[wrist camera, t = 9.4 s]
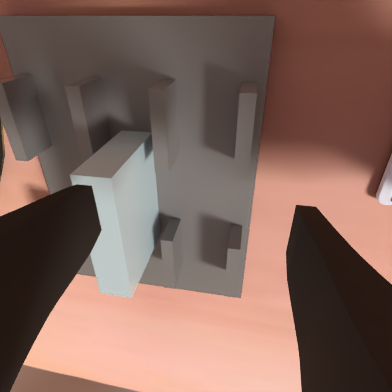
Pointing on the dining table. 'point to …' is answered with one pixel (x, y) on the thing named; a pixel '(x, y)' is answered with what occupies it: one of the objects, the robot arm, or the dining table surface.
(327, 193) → the dining table surface
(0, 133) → the decorative plate
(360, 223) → the dining table surface
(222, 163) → the grey slotted organizer
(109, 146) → the grey rectangular block
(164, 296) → the dining table surface
